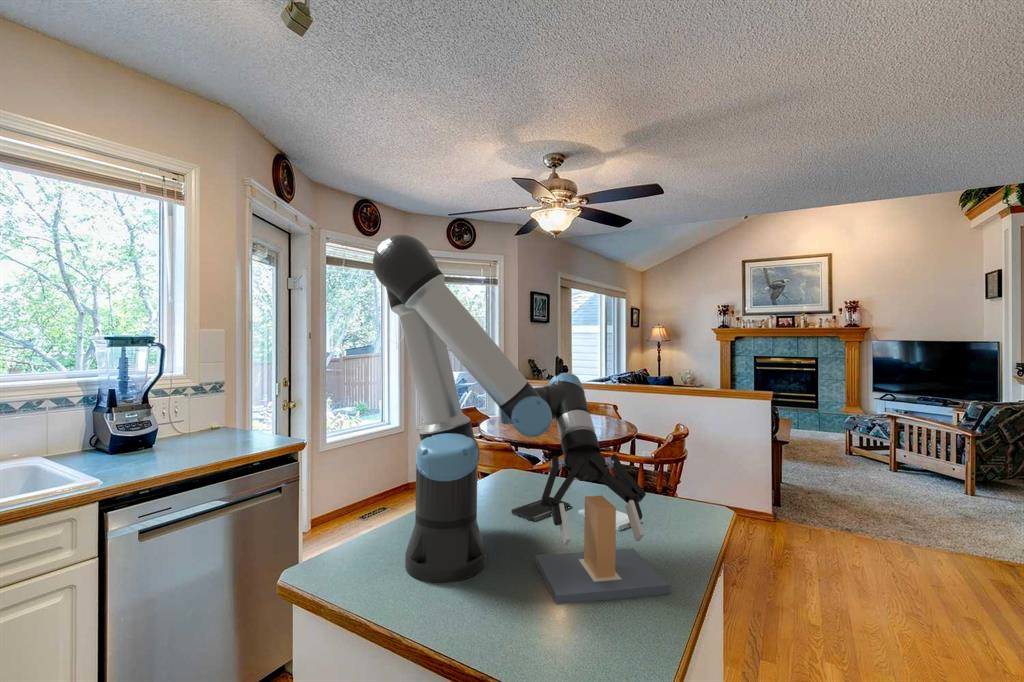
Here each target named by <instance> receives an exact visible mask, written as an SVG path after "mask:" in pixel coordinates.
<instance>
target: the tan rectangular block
mask: <svg viewBox="0 0 1024 682" xmlns="http://www.w3.org/2000/svg"><path fill="white" fill-rule="evenodd" d="M584 508H585V517H584V521H583V522H584V534H583V535H584V536H583V538H584V539H583V542H584V543H583V545H584V546H583V552H584V562H585V563H586V564H587V566H588V567H589V568H590V570H591V571H592V573H593V574H594V575H595V577H596V578H606V577H615V549H616V540H617V539H616V535H617V534H616V533H617V532H616V531H617V530H616V510H617V507H616V506H614V504H612V503H611V502H610V501H609V500H608V499H607V498H605V497H604V496H603V495H589V496H588V495H587V496H584Z"/></svg>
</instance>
